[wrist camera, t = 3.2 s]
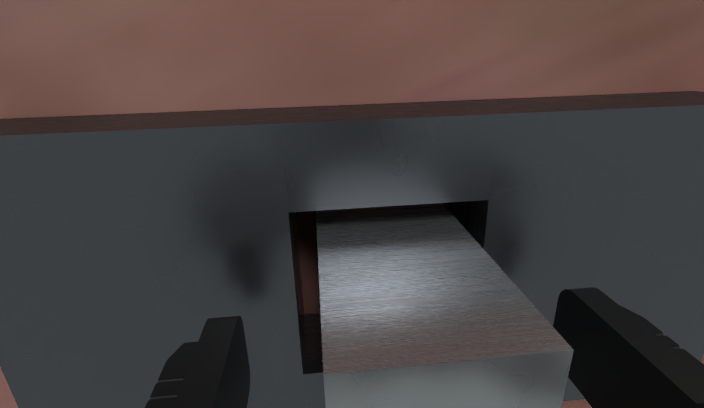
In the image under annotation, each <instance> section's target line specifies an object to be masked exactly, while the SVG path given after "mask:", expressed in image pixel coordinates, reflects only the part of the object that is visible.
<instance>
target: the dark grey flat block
mask: <svg viewBox="0 0 704 408" xmlns="http://www.w3.org/2000/svg"><path fill="white" fill-rule="evenodd" d="M449 202H450V204H449V211H450V212H451V213H452V215H453V216H454V217H455V218H456V219H457V220H458V221H459V222H460V224H461V225H462V226H463V227H464V228H465V229H466V230H467V231H468V232H469V234H470V235H471V236H472V237H473V238H474V239H475V240H476V241H477V242H478V244H479V245H480V246H481V247H482V248H483V249H484V250H485V251H486V253H487V254H488V255H489V256H490V257H491V258H492V259H493V260H494V261H495V263H496V264H497V265H498V266H499V267H500V268H501V269H502V270H503V271H504V273H505V274H506V275H507V276H508V277H509V278H510V279H511V280H512V282H513V283H514V284H515V285H516V286H517V287H518V288H519V289H520V290H521V292H522V293H523V294H524V295H525V296H526V297H527V298H528V299H529V301H530V302H531V303H532V304H533V305H534V306H535V307H536V308H537V309H538V311H539V312H540V313H541V314H542V315H543V316H544V317H545V318H546V319H547V321H548V322H549V323H550V324H551V325H552V326H553V323H554V318H555V312H556V307H557V302H558V297H559V294H560V293H561V291H563V290H565V289H576V288H588V287H595V288H598V289H599V290H601V291H602V292H603V293H604V294H606V295H607V296H608V297H609V298H611V299H612V300H613V301H614V302H616V303H617V304H618V305H620V306H622V307H624V308H626V309H628V310H630V311H632V312H634V313H636V314H638V315H640V316H642V317H644V318H645V319H647V320H648V321H649V322H650V323H652V324H653V325H654V326H655V327H657V328H658V329H659V330H661V331H662V332H663V335H664V336H668V337H669V338H671V339H672V340H673V341H674V342H676V343H677V344H678V345H679V347H680V349H685V350H686V351H687V352H688V353H690V354H691V355H692V356H694V357H695V358H696V359H697V360H699V361H700V362H701V359H702V356H703V354H704V92H698V91H686V92H661V93H636V94H611V95H586V96H562V97H537V98H512V99H487V100H462V101H437V102H412V103H388V104H363V105H338V106H313V107H288V108H263V109H238V110H214V111H189V112H164V113H139V114H114V115H89V116H64V117H40V118H15V119H0V366H1V369H2V371H3V373H4V376H5V378H6V380H7V382H8V385H9V387H10V389H11V391H12V394H13V396H14V398H15V401H16V403H17V405H18V407H19V408H145V406H146V404H147V402H148V401H149V400H150V395H151V393H152V391H153V389H154V387H155V384H156V383H158V378H159V376H160V374H161V372H162V369H163V367H164V365H165V363H166V361H167V359H168V358H169V357H170V356H171V355H172V354H173V353H174V352H175V351H176V350H177V349H178V348H179V347H180V346H181V345H182V344H183V343H187V342H198V341H199V338H200V336H201V333H202V330H203V328H204V325H205V323H206V321H207V319H208V318H219V317H231V316H241V318H242V321H243V326H244V333H245V339H246V346H247V353H248V359H249V366H250V391H249V398H248V404H247V408H326V406H325V391H324V376H323V355H322V334H321V313H320V314H308V315H304V307H303V296H302V284H301V272H300V260H299V248H298V236H297V224H296V213H295V212H305V211H321V210H337V209H353V208H369V207H385V206H401V205H417V204H433V203H449ZM578 399H585V398H584V396H583V395H582V394H581V393H580V391H579V390H578V389H577V388H576V386H575V385H574V384H573V383H572V381H571V380H570V379H569V378H568V379H567V383H566V388H565V393H564V397H563V401H569V400H578Z"/></svg>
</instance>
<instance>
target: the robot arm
mask: <svg viewBox="0 0 704 408" xmlns="http://www.w3.org/2000/svg"><path fill="white" fill-rule="evenodd" d="M553 327H554V328H555V330H556V331H557V332H558V333H559V334H560V335H561V336H562V337H563V338H564V340H565V341H566V342H567V343H568V344H569V345H570V346H571V347H572V348H573V350H574V351H573V356H572V360H571V365H570V370H569V374H568V378H569V379H570V380H571V381H572V383H573V384H574V385H575V386H576V388H577V389H578V390H579V391H580V393H581V394H582V395H583V396H584V398H585V399H586V400H587V401H588V403H589V404H590V405H591V406H592V408H704V364H702V363H701V362H700V361H699V360H697V359H696V358H695V357H694V356H692V355H691V354H690V353H688V352H687V351H686V350H685V349H680V347H679V345H678V344H677V343H676V342H674V341H673V340H672V339H671V338H669V337H668V336H664V335H663V332H662V331H661V330H659V329H658V328H657V327H655V326H654V325H653V324H652V323H650V322H649V321H648V320H647V319H645V318H644V317H642V316H640V315H638V314H636V313H634V312H632V311H630V310H628V309H626V308H624V307H622V306H620V305H618V304H617V303H616V302H614V301H613V300H612V299H611V298H609V297H608V296H607V295H606V294H604V293H603V292H602V291H601V290H599V289H598V288H595V287H588V288H576V289H565V290H563V291H561V293H560V294H559V297H558V302H557V307H556V312H555V318H554V323H553ZM249 391H250V366H249V359H248V353H247V346H246V339H245V333H244V326H243V321H242V318H241V316H231V317H219V318H208V319H207V321H206V323H205V325H204V328H203V330H202V333H201V336H200V338H199V341H198V342H187V343H183V344H182V345H181V346H180V347H179V348H178V349H177V350H176V351H175V352H174V353H173V354H172V355H171V356H170V357H169V358H168V359H167V361H166V363H165V365H164V367H163V369H162V372H161V374H160V376H159V378H158V383H156V384H155V387H154V389H153V391H152V393H151V395H150V400H149V401H148V402H147V404H146V406H145V408H247V404H248V398H249Z"/></svg>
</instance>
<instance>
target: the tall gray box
mask: <svg viewBox="0 0 704 408" xmlns="http://www.w3.org/2000/svg"><path fill="white" fill-rule="evenodd" d="M316 226H317V247H318V269H319V290H320V312H321V334H322V355H323V376H324V391H325V406H326V408H561V407H562V402H563V397H564V393H565V388H566V383H567V379H568V374H569V370H570V365H571V360H572V356H573V351H574V350H573V348H572V347H571V346H570V345H569V344H568V343H567V342H566V341H565V340H564V338H563V337H562V336H561V335H560V334H559V333H558V332H557V331H556V330H555V328H554V327H553V326H552V325H551V324H550V323H549V322H548V321H547V319H546V318H545V317H544V316H543V315H542V314H541V313H540V312H539V311H538V309H537V308H536V307H535V306H534V305H533V304H532V303H531V302H530V301H529V299H528V298H527V297H526V296H525V295H524V294H523V293H522V292H521V290H520V289H519V288H518V287H517V286H516V285H515V284H514V283H513V282H512V280H511V279H510V278H509V277H508V276H507V275H506V274H505V273H504V271H503V270H502V269H501V268H500V267H499V266H498V265H497V264H496V263H495V261H494V260H493V259H492V258H491V257H490V256H489V255H488V254H487V253H486V251H485V250H484V249H483V248H482V247H481V246H480V245H479V244H478V242H477V241H476V240H475V239H474V238H473V237H472V236H471V235H470V234H469V232H468V231H467V230H466V229H465V228H464V227H463V226H462V225H461V224H460V222H459V221H458V220H457V219H456V218H455V217H454V216H453V215H452V213H451V212H450V211H449V210H448V209H447V208H446V207H445V206H444V205H443V203H433V204H417V205H401V206H385V207H369V208H353V209H337V210H321V211H316Z"/></svg>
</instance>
